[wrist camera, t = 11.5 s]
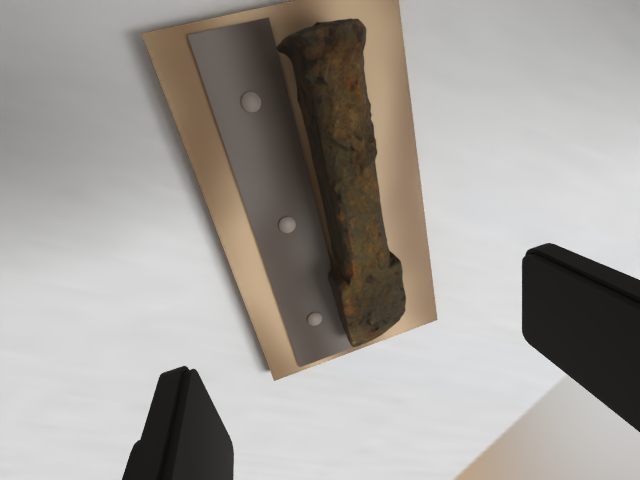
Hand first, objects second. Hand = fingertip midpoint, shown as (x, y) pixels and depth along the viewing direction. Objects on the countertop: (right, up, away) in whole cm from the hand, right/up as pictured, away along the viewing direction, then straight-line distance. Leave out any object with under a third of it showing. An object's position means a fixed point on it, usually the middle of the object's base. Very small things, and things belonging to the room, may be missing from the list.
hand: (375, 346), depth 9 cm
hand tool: (-2, +4, +10) cm, 11 cm away
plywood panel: (-1, +5, +13) cm, 14 cm away
